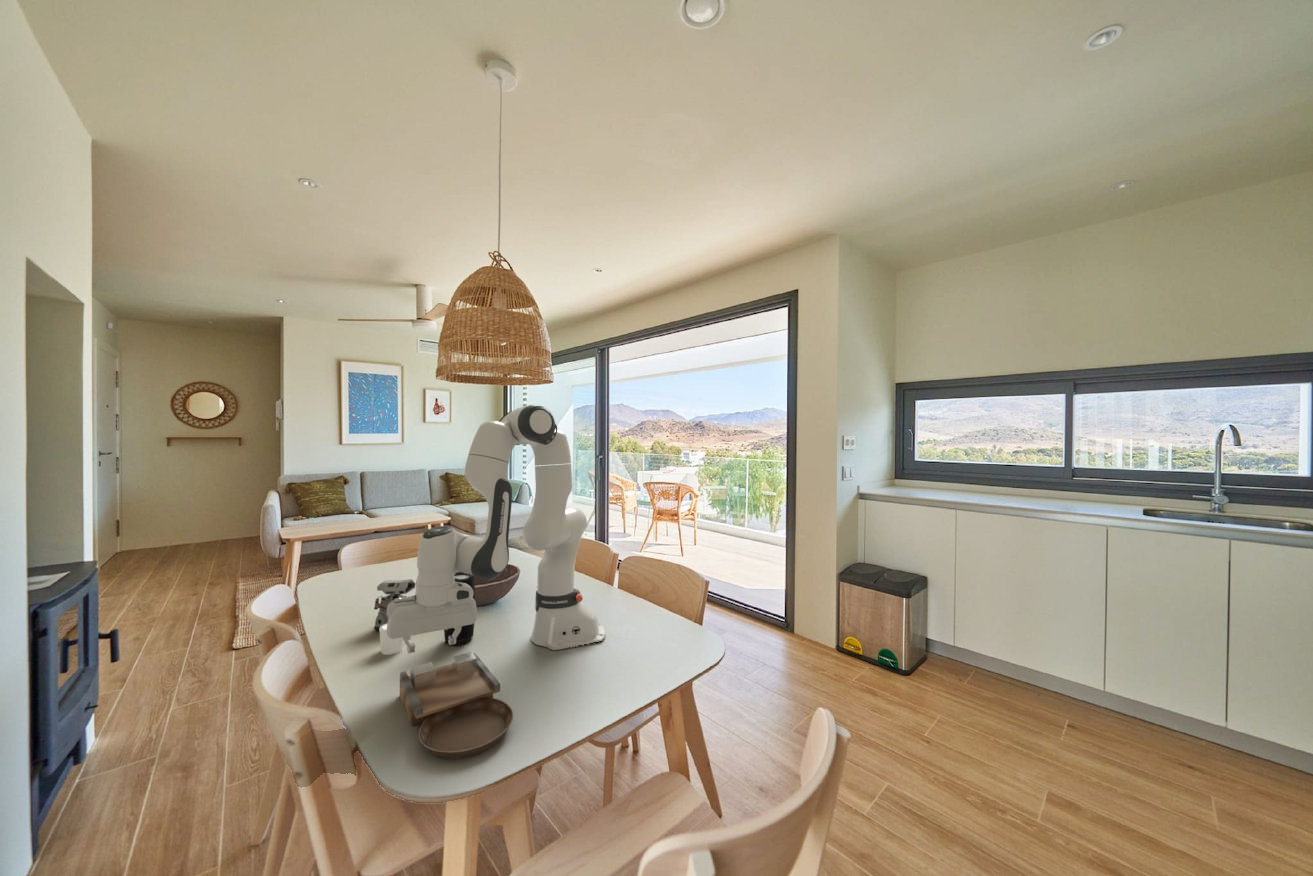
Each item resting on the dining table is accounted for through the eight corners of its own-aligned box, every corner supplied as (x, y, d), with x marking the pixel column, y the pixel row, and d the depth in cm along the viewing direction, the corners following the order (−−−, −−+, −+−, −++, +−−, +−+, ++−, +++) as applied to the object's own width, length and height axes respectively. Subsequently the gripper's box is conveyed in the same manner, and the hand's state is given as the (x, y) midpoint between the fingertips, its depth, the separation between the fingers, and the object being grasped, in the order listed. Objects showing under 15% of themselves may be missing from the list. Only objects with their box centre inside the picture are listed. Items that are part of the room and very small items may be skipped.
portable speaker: (447, 650, 130) (448, 581, 130) (440, 638, 138) (441, 573, 138) (478, 642, 135) (479, 576, 135) (469, 631, 143) (470, 569, 143)
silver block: (452, 669, 111) (452, 656, 111) (470, 663, 114) (471, 651, 114) (457, 676, 108) (457, 663, 108) (476, 670, 110) (476, 658, 110)
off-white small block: (410, 680, 105) (411, 667, 105) (431, 674, 108) (431, 662, 108) (414, 688, 102) (414, 675, 102) (435, 682, 105) (436, 669, 105)
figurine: (399, 635, 139) (400, 586, 139) (370, 630, 143) (371, 582, 143) (422, 624, 148) (423, 578, 148) (394, 619, 151) (395, 574, 151)
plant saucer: (512, 757, 87) (512, 741, 87) (408, 774, 82) (409, 757, 82) (513, 705, 104) (513, 692, 104) (428, 717, 99) (428, 703, 99)
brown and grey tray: (399, 695, 107) (400, 672, 107) (474, 673, 117) (474, 652, 117) (415, 736, 92) (416, 709, 92) (499, 707, 103) (500, 683, 103)
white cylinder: (394, 657, 125) (394, 631, 126) (372, 654, 127) (373, 629, 127) (412, 646, 132) (412, 622, 132) (391, 643, 134) (392, 619, 134)
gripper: (388, 603, 106) (385, 663, 106) (480, 590, 118) (477, 643, 118) (385, 595, 111) (382, 652, 111) (473, 583, 123) (470, 634, 123)
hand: (432, 647), depth 114 cm, fingers open, 8 cm apart
